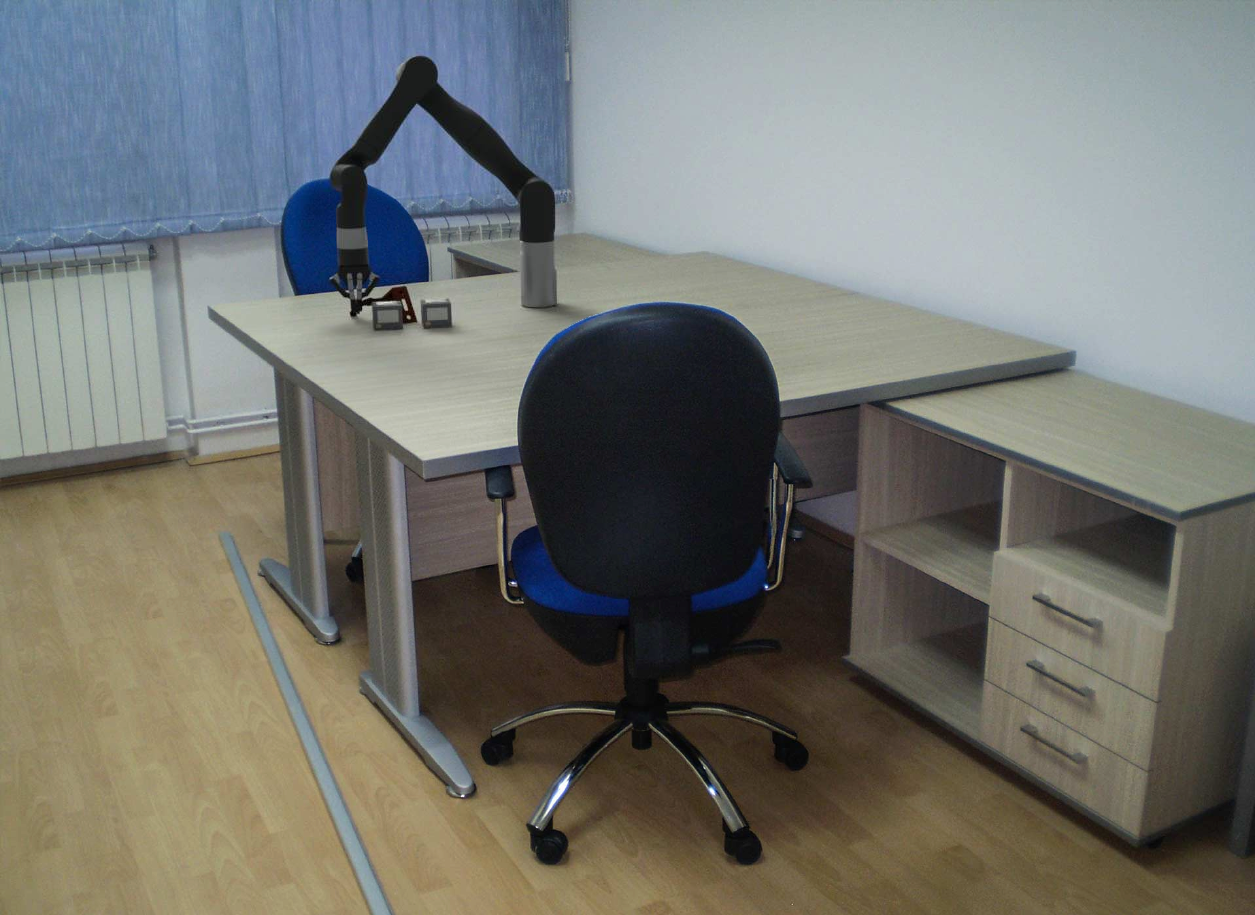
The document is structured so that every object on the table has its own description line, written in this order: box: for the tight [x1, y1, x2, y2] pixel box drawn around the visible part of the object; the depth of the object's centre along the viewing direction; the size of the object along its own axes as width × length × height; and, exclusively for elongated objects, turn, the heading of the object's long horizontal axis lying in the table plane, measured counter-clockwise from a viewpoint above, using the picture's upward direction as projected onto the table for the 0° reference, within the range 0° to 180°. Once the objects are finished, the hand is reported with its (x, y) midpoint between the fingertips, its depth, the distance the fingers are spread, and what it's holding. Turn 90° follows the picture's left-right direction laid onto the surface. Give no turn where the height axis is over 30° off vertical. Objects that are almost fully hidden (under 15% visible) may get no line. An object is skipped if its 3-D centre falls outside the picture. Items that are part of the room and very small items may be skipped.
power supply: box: [371, 301, 404, 332], centre depth 314 cm, size 7×6×6 cm
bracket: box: [349, 285, 418, 325], centre depth 325 cm, size 10×14×10 cm
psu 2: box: [420, 298, 453, 329], centre depth 317 cm, size 7×6×6 cm
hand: (356, 313), depth 324 cm, fingers closed
